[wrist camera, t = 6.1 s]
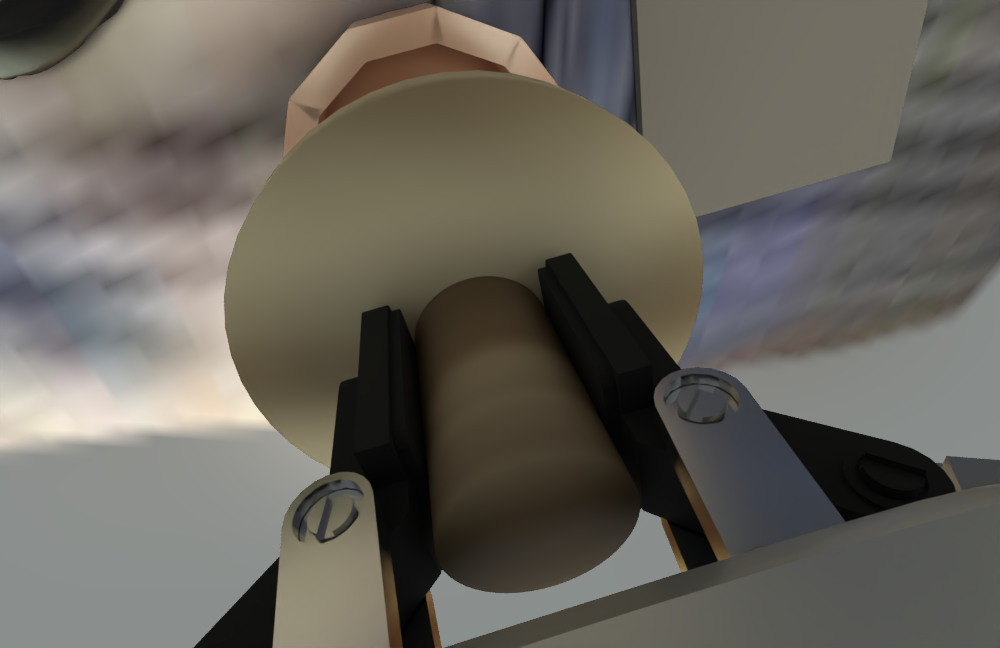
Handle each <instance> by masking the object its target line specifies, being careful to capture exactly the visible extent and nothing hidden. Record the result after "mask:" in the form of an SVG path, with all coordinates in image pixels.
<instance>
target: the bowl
mask: <svg viewBox="0 0 1000 648" xmlns="http://www.w3.org/2000/svg"><path fill="white" fill-rule="evenodd" d="M473 70H481V71H492V72H502V73H513V74H517V75H521V76H526V77H530V78H534V79H538V80H542V81H546V82H549V83H551V84H553V85H556V86H558V85H557V83H556V82H555V81H554V79H553V78H552V77H551V75H550V74H549V73H548V72H547V70H546V69H545V68H544V66H543V65H542V64H541V62H540V61H539V60H538V58H537V57H536V56H535V54H534V53H533V52H532V51H531V49H530V48H529V47H528V45H527V44H526V43H525V41H524V40H523V39H522V38H521V37H520V36H517V35H514V34H511V33H509V32H506V31H503V30H501V29H498V28H495V27H493V26H490V25H487V24H484V23H482V22H479V21H476V20H473V19H471V18H468V17H465V16H462V15H460V14H457V13H454V12H451V11H449V10H446V9H443V8H440V7H438V6H435V5H432V4H429V3H424V4H420V5H416V6H412V7H409V8H405V9H399V10H394V11H389V12H386V13H383V14H380V15H377V16H374V17H370V18H367V19H363V20H359V21H355V22H353V23H351V24H350V26H349V27H348V28H347V29H346V30H345V32H344V33H343V34H342V35H341V36H340V38H339V39H338V40H337V41H336V42H335V44H334V45H333V46H332V47H331V48H330V49H329V51H328V52H327V53H326V54H325V56H324V57H323V58H322V59H321V60H320V62H319V63H318V64H317V65H316V66H315V68H314V69H313V70H312V71H311V72H310V74H309V75H308V76H307V77H306V78H305V80H304V81H303V82H302V83H301V85H300V86H299V87H298V88H297V90H296V91H295V92H294V93H293V95H292V96H291V97H290V98H289V100H288V110H287V120H286V129H285V139H284V149H283V158H284V157H285V155H286V154H287V153H288V152H289V151H290V150H291V149H292V148H293V147H294V146H295V145H296V144H297V143H298V142H299V141H300V140H301V139H302V138H303V137H304V136H305V135H306V134H307V133H308V132H309V131H310V130H312V129H313V128H314V127H316V126H317V125H318V124H320V123H321V122H322V121H324V120H325V119H326V118H328V117H329V116H330V115H332V114H333V113H334V112H336V111H337V110H338V109H340V108H342V107H344V106H346V105H348V104H350V103H351V102H353V101H355V100H357V99H359V98H361V97H363V96H364V95H366V94H368V93H370V92H372V91H375V90H378V89H381V88H384V87H386V86H389V85H392V84H395V83H397V82H400V81H403V80H406V79H411V78H416V77H421V76H426V75H431V74H435V73H440V72H455V71H473ZM558 87H559V86H558ZM282 160H283V159H282Z"/></svg>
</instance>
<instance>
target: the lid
mask: <svg viewBox="0 0 1000 648" xmlns="http://www.w3.org/2000/svg"><path fill="white" fill-rule="evenodd" d="M567 253H571V254H572V255H573V256H574V257H575V259H576V260H577V261H578V263H579V264H580V266H581V267H582V268H583V270H584V271H585V273H586V274H587V275H588V277H589V278H590V279H591V281H592V282H593V284H594V285H595V286H596V288H597V289H598V291H599V292H600V293H601V295H602V296H603V297H604V299H605V300H606V302H607V303H612V302H615V301H618V300H622V299H623V300H626V301H627V302H628V303H629V304H630V305H631V307H632V308H633V309H634V310H635V312H636V313H637V314H638V315H639V317H640V318H641V319H642V320H643V322H644V323H645V324H646V326H647V327H648V328H649V329H650V331H651V332H652V333H653V334H654V336H655V337H656V338H657V339H658V341H659V342H660V343H661V344H662V346H663V347H664V348H665V350H666V351H667V352H668V353H669V355H670V356H671V357H672V358H673V360H674V361H675V362H676V363H677V364H678V362H679V360H680V358H681V356H682V354H683V352H684V350H685V348H686V346H687V344H688V341H689V338H690V335H691V333H692V330H693V327H694V324H695V321H696V318H697V313H698V309H699V304H700V299H701V294H702V281H703V256H702V243H701V239H700V234H699V229H698V225H697V220H696V217H695V214H694V212H693V209H692V207H691V204H690V201H689V199H688V196H687V194H686V192H685V190H684V188H683V187H682V185H681V183H680V181H679V180H678V178H677V176H676V175H675V173H674V171H673V170H672V168H671V167H670V165H669V164H668V163H667V162H666V161H665V159H664V158H663V157H662V156H661V155H660V154H659V152H658V151H657V150H656V149H655V148H654V146H653V145H652V144H651V143H650V142H649V141H647V140H646V139H645V138H644V137H643V136H642V135H640V134H639V133H638V132H637V131H636V130H635V129H633V128H632V127H631V126H630V125H629V124H628V123H626V122H624V121H623V120H621V119H619V118H618V117H616V116H615V115H613V114H611V113H610V112H608V111H606V110H605V109H603V108H601V107H600V106H598V105H596V104H594V103H593V102H591V101H589V100H587V99H585V98H583V97H581V96H579V95H577V94H575V93H573V92H570V91H568V90H566V89H563V88H561V87H558V86H556V85H553V84H551V83H549V82H546V81H542V80H538V79H534V78H530V77H526V76H521V75H517V74H513V73H502V72H492V71H481V70H473V71H455V72H440V73H435V74H431V75H426V76H421V77H416V78H411V79H406V80H403V81H400V82H397V83H395V84H392V85H389V86H386V87H384V88H381V89H378V90H375V91H372V92H370V93H368V94H366V95H364V96H363V97H361V98H359V99H357V100H355V101H353V102H351V103H350V104H348V105H346V106H344V107H342V108H340V109H338V110H337V111H336V112H334V113H333V114H332V115H330V116H329V117H328V118H326V119H325V120H324V121H322V122H321V123H320V124H318V125H317V126H316V127H314V128H313V129H312V130H310V131H309V132H308V133H307V134H306V135H305V136H304V137H303V138H302V139H301V140H300V141H299V142H298V143H297V144H296V145H295V146H294V147H293V148H292V149H291V150H290V151H289V152H288V153H287V154H286V155H285V157H284V158H283V160H282V161H281V162H280V164H279V165H278V167H277V168H276V169H275V171H274V172H273V174H272V175H271V176H270V178H269V179H268V180H267V182H266V183H265V185H264V187H263V188H262V190H261V192H260V193H259V195H258V197H257V198H256V200H255V202H254V203H253V205H252V207H251V209H250V211H249V213H248V215H247V217H246V219H245V221H244V223H243V225H242V227H241V229H240V231H239V233H238V236H237V239H236V242H235V245H234V249H233V252H232V255H231V258H230V262H229V265H228V271H227V278H226V286H225V294H224V309H225V329H226V333H227V338H228V343H229V347H230V352H231V356H232V359H233V361H234V364H235V366H236V369H237V372H238V374H239V377H240V379H241V382H242V383H243V385H244V387H245V388H246V390H247V392H248V394H249V395H250V397H251V399H252V400H253V402H254V404H255V405H256V407H257V408H258V409H259V410H260V412H261V413H262V414H263V415H264V416H265V418H266V419H267V420H268V421H269V423H270V424H271V425H272V426H273V427H274V428H275V429H276V430H277V431H278V432H279V433H280V434H282V436H284V437H285V438H286V439H287V440H288V441H289V442H290V443H291V444H293V445H294V446H295V447H297V448H298V449H299V450H301V451H302V452H304V453H305V454H306V455H308V456H309V457H310V458H312V459H314V460H316V461H318V462H319V463H321V464H323V465H325V466H327V467H328V468H330V467H331V457H332V448H333V438H334V429H335V419H336V410H337V401H338V391H339V386H340V383H341V382H342V381H345V380H348V379H352V378H355V377H358V365H359V349H360V332H361V315H362V312H365V311H369V310H372V309H376V308H379V307H383V306H386V305H388V306H389V307H390V309H391V311H393V310H397V309H400V310H401V312H402V314H403V317H404V319H405V322H406V324H407V327H408V329H409V332H410V335H411V337H412V340H413V342H414V345H415V348H416V359H417V369H418V380H419V390H420V400H421V411H422V421H423V431H424V442H425V452H426V462H427V473H428V483H429V497H430V508H431V518H432V529H433V539H434V549H435V555H436V558H437V560H438V563H439V565H440V566H441V568H442V569H443V570H444V571H445V572H446V573H447V574H448V575H449V576H450V577H451V578H453V579H454V580H455V581H457V582H459V583H461V584H463V585H465V586H467V587H471V588H474V589H477V590H481V591H486V592H495V593H518V592H526V591H534V590H539V589H543V588H547V587H551V586H554V585H558V584H560V583H563V582H566V581H569V580H571V579H573V578H575V577H578V576H580V575H582V574H584V573H586V572H587V571H589V570H591V569H593V568H594V567H596V566H597V565H599V564H600V563H602V562H603V561H605V560H606V559H607V558H609V557H610V556H611V555H612V554H613V553H614V552H615V551H617V550H618V549H619V547H620V546H621V545H622V544H623V543H624V542H625V541H626V539H627V538H628V537H629V535H630V534H631V532H632V530H633V529H634V527H635V525H636V522H637V520H638V517H639V512H640V497H639V492H638V490H637V488H636V485H635V483H634V481H633V480H632V478H631V476H630V474H629V472H628V470H627V468H626V466H625V464H624V462H623V460H622V458H621V456H620V454H619V452H618V450H617V448H616V446H615V444H614V443H613V441H612V439H611V437H610V435H609V433H608V431H607V429H606V427H605V425H604V424H603V422H602V420H601V418H600V416H599V414H598V412H597V410H596V408H595V406H594V404H593V402H592V400H591V398H590V396H589V394H588V392H587V390H586V388H585V387H584V385H583V383H582V381H581V379H580V377H579V375H578V373H577V371H576V369H575V367H574V365H573V363H572V361H571V359H570V357H569V355H568V353H567V351H566V349H565V348H564V346H563V344H562V342H561V340H560V338H559V336H558V334H557V332H556V330H555V328H554V326H553V324H552V322H551V320H550V318H549V316H548V314H547V312H546V310H545V307H544V302H543V297H542V292H541V287H540V282H539V277H538V269H539V268H543V267H545V260H546V259H550V258H553V257H557V256H560V255H564V254H567Z"/></svg>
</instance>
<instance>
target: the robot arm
mask: <svg viewBox="0 0 1000 648" xmlns="http://www.w3.org/2000/svg"><path fill="white" fill-rule="evenodd" d="M538 277H539V282H540V287H541V292H542V297H543V302H544V307H545V310H546V312H547V314H548V316H549V318H550V320H551V322H552V324H553V326H554V328H555V330H556V332H557V334H558V336H559V338H560V340H561V342H562V344H563V346H564V348H565V349H566V351H567V353H568V355H569V357H570V359H571V361H572V363H573V365H574V367H575V369H576V371H577V373H578V375H579V377H580V379H581V381H582V383H583V385H584V387H585V388H586V390H587V392H588V394H589V396H590V398H591V400H592V402H593V404H594V406H595V408H596V410H597V412H598V414H599V416H600V418H601V420H602V422H603V424H604V425H605V427H606V429H607V431H608V433H609V435H610V437H611V439H612V441H613V443H614V444H615V446H616V448H617V450H618V452H619V454H620V456H621V458H622V460H623V462H624V464H625V466H626V468H627V470H628V472H629V474H630V476H631V478H632V480H633V481H634V483H635V485H636V488H637V490H638V492H639V497H640V509H641V508H642V509H643V510H644V511H646V512H649V513H651V514H654V515H657V516H659V517H660V518H661V522H662V526H663V528H664V531H665V533H666V535H667V538H668V540H669V543H670V546H671V548H672V550H673V553H674V555H675V558H676V560H677V563H678V565H679V568H680V570H681V573H679V574H676V575H672V576H669V577H666V578H663V579H660V580H656V581H654V582H650V583H647V584H644V585H641V586H637V587H634V588H631V589H628V590H625V591H621V592H618V593H615V594H612V595H609V596H606V597H603V598H599V599H596V600H593V601H590V602H587V603H584V604H580V605H577V606H574V607H571V608H568V609H564V610H561V611H558V612H555V613H552V614H549V615H546V616H542V617H539V618H536V619H533V620H530V621H527V622H524V623H520V624H517V625H514V626H511V627H508V628H505V629H502V630H498V631H495V632H492V633H489V634H486V635H483V636H479V637H476V638H473V639H470V640H467V641H464V642H461V643H457V644H454V645H452V646H448V647H445V648H1000V460H990V459H977V458H963V457H951V456H946V458H945V460H944V463H943V464H942V463H935V462H934V461H932V460H931V459H930V458H928V457H927V456H925V455H923V454H921V453H919V452H918V451H916V450H914V449H912V448H909V447H906V446H903V445H900V444H898V443H894V442H891V441H887V440H883V439H879V438H875V437H871V436H867V435H863V434H859V433H855V432H851V431H846V430H843V429H839V428H835V427H831V426H827V425H823V424H819V423H815V422H811V421H807V420H803V419H799V418H795V417H791V416H787V415H782V414H779V413H775V412H770V411H767V410H763V409H761V407H760V406H759V404H758V403H757V402H756V401H755V399H754V398H753V396H752V395H751V394H750V392H749V391H748V390H747V388H746V387H745V386H744V385H743V384H742V383H741V382H740V381H739V380H738V379H736V378H734V377H733V376H731V375H729V374H727V373H725V372H722V371H718V370H715V369H711V368H700V367H695V368H686V369H680V367H679V366H678V365H677V363H676V362H675V361H674V360H673V358H672V357H671V356H670V355H669V353H668V352H667V351H666V350H665V348H664V347H663V346H662V344H661V343H660V342H659V341H658V339H657V338H656V337H655V336H654V334H653V333H652V332H651V331H650V329H649V328H648V327H647V326H646V324H645V323H644V322H643V320H642V319H641V318H640V317H639V315H638V314H637V313H636V312H635V310H634V309H633V308H632V307H631V305H630V304H629V303H628V302H627V301H626V300H623V299H622V300H618V301H615V302H612V303H607V302H606V300H605V299H604V297H603V296H602V295H601V293H600V292H599V291H598V289H597V288H596V286H595V285H594V284H593V282H592V281H591V279H590V278H589V277H588V275H587V274H586V273H585V271H584V270H583V268H582V267H581V266H580V264H579V263H578V261H577V260H576V259H575V257H574V256H573V255H572V254H571V253H567V254H564V255H560V256H557V257H553V258H550V259H546V260H545V267H543V268H539V269H538ZM441 570H443V569H442V568H441V566H440V565H439V563H438V560H437V558H436V555H435V549H434V539H433V529H432V518H431V508H430V497H429V483H428V473H427V462H426V452H425V442H424V431H423V421H422V411H421V400H420V390H419V380H418V369H417V359H416V348H415V345H414V342H413V340H412V337H411V335H410V332H409V329H408V327H407V324H406V322H405V319H404V317H403V314H402V312H401V310H400V309H397V310H393V311H391V309H390V307H389V306H388V305H386V306H383V307H379V308H376V309H372V310H369V311H365V312H362V315H361V332H360V349H359V365H358V377H355V378H352V379H348V380H345V381H342V382H341V383H340V386H339V391H338V401H337V410H336V419H335V429H334V438H333V448H332V457H331V467H330V475H327V476H325V477H323V478H322V479H319V480H317V481H315V482H314V483H313V484H311V485H310V486H308V487H307V488H306V489H305V490H303V491H302V492H301V493H300V494H299V495H298V497H297V498H296V499H295V500H294V501H293V502H292V504H291V505H290V507H289V509H288V511H287V513H286V514H285V517H284V521H283V526H282V533H281V546H280V557H279V558H278V559H277V560H276V561H275V562H274V563H273V564H272V565H271V566H270V567H269V568H268V569H267V570H266V571H265V573H264V574H263V575H262V576H261V577H260V578H259V579H258V580H257V581H256V582H255V583H254V584H253V585H252V586H251V587H250V589H249V590H248V591H247V592H246V593H245V594H244V595H243V596H242V597H241V598H240V599H239V600H238V601H237V602H236V603H235V604H234V606H232V608H231V609H230V610H229V611H228V612H227V613H226V614H225V615H224V616H223V617H222V618H221V619H220V620H219V621H218V622H217V623H216V624H215V625H214V627H213V628H212V629H211V630H210V631H209V632H208V633H207V634H206V635H205V636H204V637H203V638H202V639H201V641H199V642H198V644H197V645H196V646H195V647H194V648H442V646H441V641H440V636H439V630H438V625H437V619H436V614H435V609H434V603H433V598H432V594H431V592H430V588H431V587H432V585H433V584H434V583H435V581H436V580H437V578H438V577H439V575H440V574H441Z"/></svg>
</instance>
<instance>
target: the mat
mask: <svg viewBox="0 0 1000 648" xmlns="http://www.w3.org/2000/svg"><path fill="white" fill-rule="evenodd" d="M927 4H928V0H631V14H632V33H633V52H634V71H635V90H636V109H637V128H638V133H639V134H640V135H642V136H643V137H644V138H645V139H646V140H647V141H649V142H650V143H651V144H652V145H653V146H654V148H655V149H656V150H657V151H658V152H659V154H660V155H661V156H662V157H663V158H664V159H665V161H666V162H667V163H668V164H669V165H670V167H671V168H672V170H673V171H674V173H675V175H676V176H677V178H678V180H679V181H680V183H681V185H682V187H683V188H684V190H685V192H686V194H687V196H688V199H689V201H690V204H691V207H692V209H693V212H694V214H695V217H698V216H701V215H705V214H708V213H712V212H715V211H719V210H722V209H726V208H729V207H733V206H736V205H740V204H743V203H747V202H750V201H754V200H757V199H761V198H764V197H768V196H771V195H775V194H778V193H782V192H785V191H789V190H792V189H796V188H799V187H803V186H806V185H810V184H813V183H817V182H820V181H824V180H827V179H831V178H834V177H838V176H841V175H845V174H848V173H852V172H855V171H859V170H862V169H866V168H869V167H873V166H876V165H880V164H883V163H887V162H890V161H891V157H892V152H893V148H894V144H895V140H896V135H897V131H898V127H899V123H900V118H901V114H902V110H903V106H904V101H905V97H906V93H907V89H908V84H909V80H910V76H911V72H912V67H913V63H914V59H915V55H916V50H917V46H918V42H919V38H920V33H921V29H922V25H923V21H924V16H925V12H926V8H927Z"/></svg>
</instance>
